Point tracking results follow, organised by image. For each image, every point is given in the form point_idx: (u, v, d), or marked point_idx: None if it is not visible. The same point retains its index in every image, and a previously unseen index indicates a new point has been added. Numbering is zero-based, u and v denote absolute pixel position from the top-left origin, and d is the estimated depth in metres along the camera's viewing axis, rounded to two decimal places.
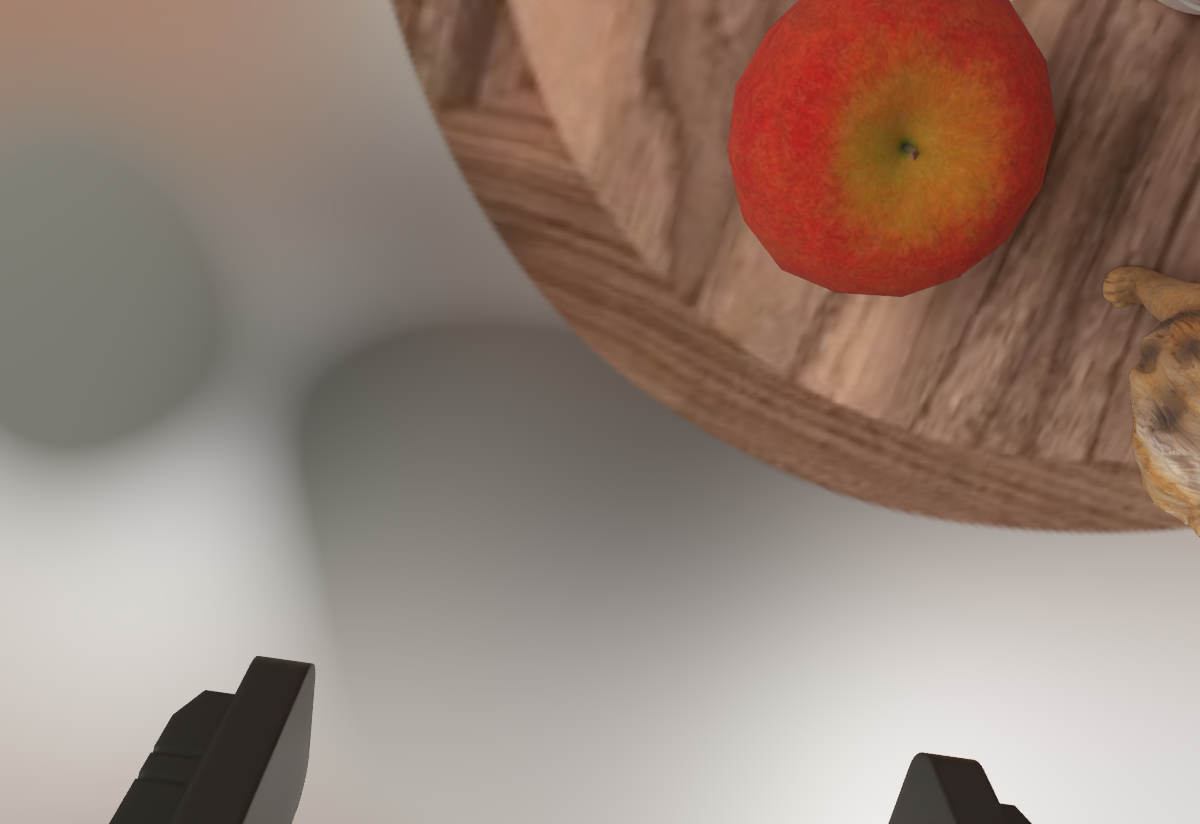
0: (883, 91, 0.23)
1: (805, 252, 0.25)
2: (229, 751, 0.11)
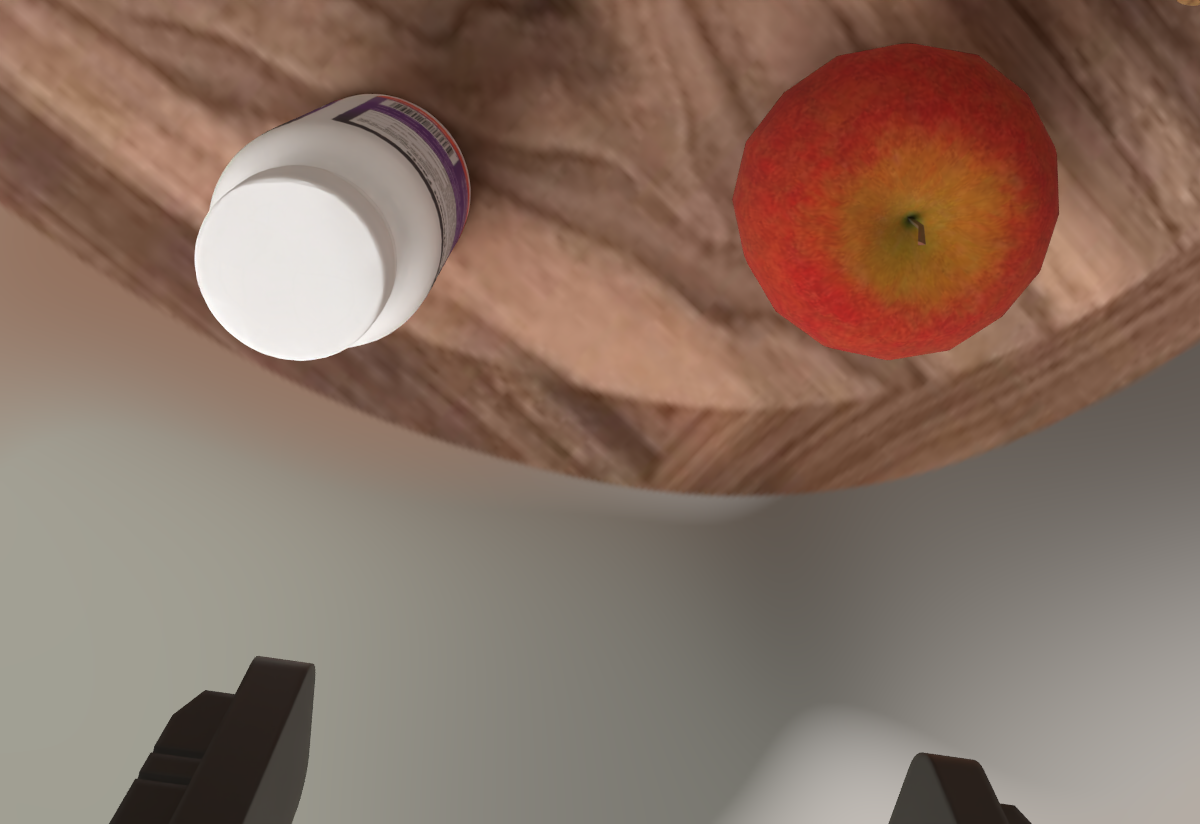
0: (852, 232, 0.24)
1: (940, 344, 0.26)
2: (229, 751, 0.11)
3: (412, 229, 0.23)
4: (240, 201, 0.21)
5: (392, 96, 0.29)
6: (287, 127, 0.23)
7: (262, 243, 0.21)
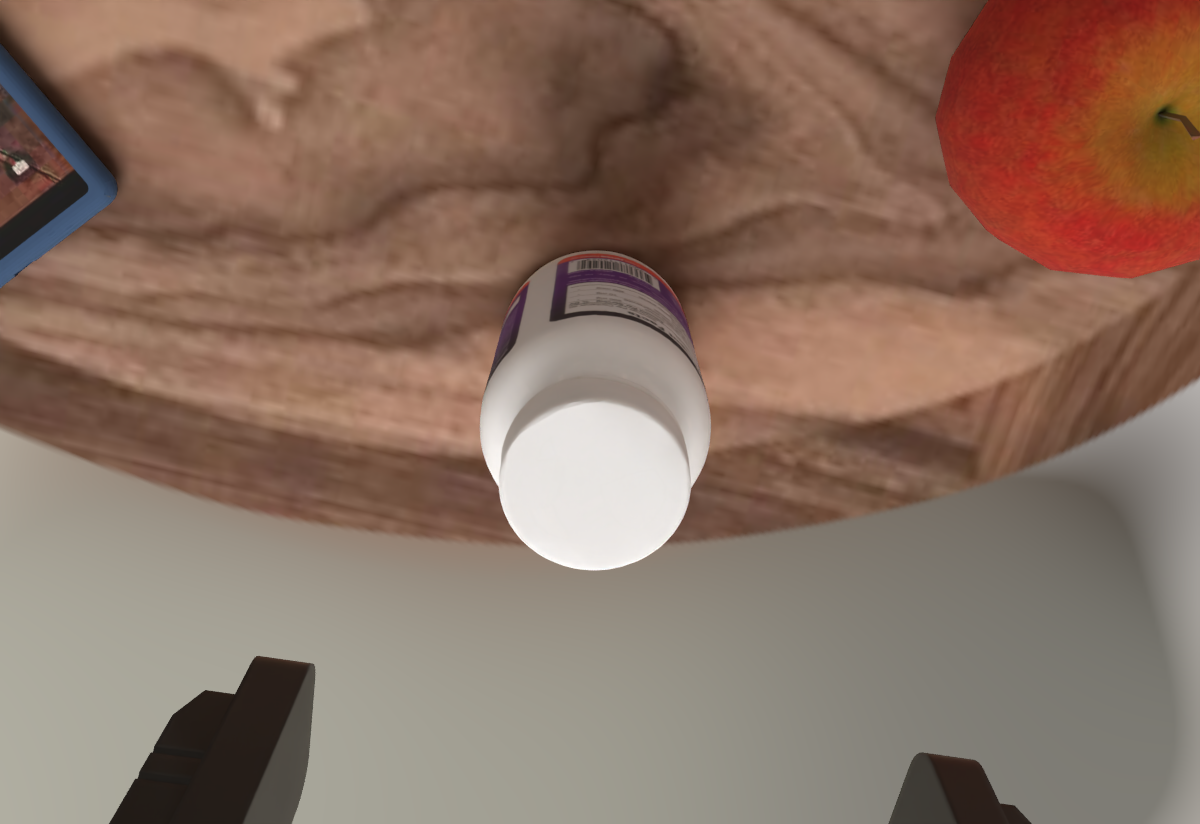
0: (1109, 162, 0.21)
1: None
2: (229, 751, 0.11)
3: (673, 384, 0.23)
4: (524, 448, 0.21)
5: (569, 255, 0.29)
6: (518, 351, 0.23)
7: (559, 475, 0.21)
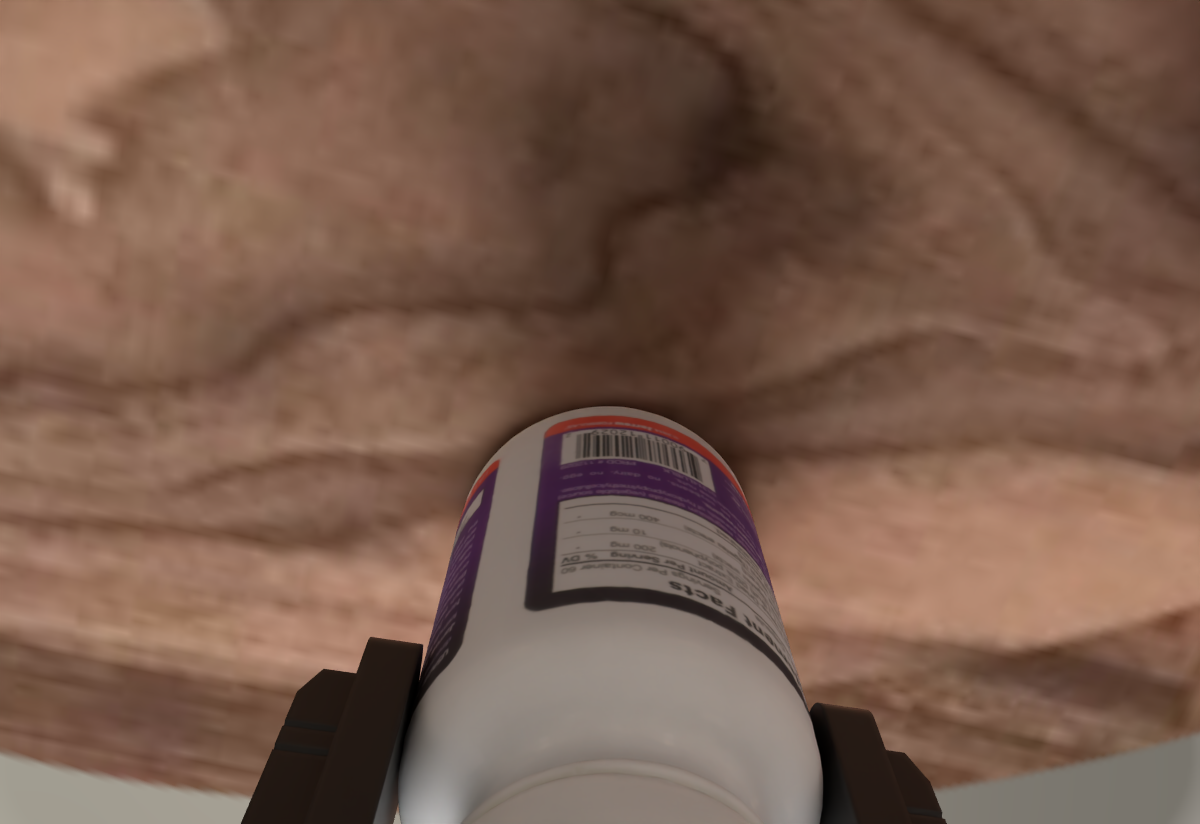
0: None
1: None
2: (360, 723, 0.12)
3: (760, 743, 0.12)
4: None
5: (563, 416, 0.18)
6: (464, 676, 0.12)
7: None
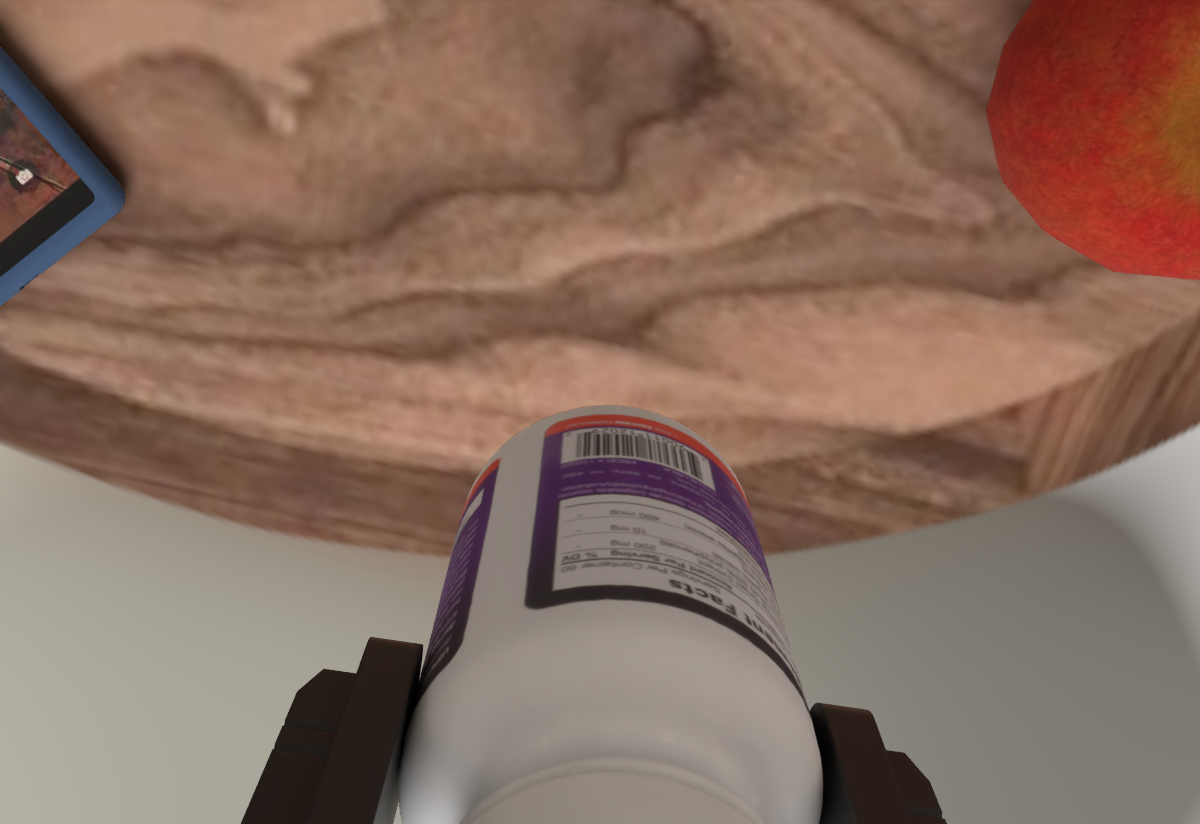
0: (1183, 154, 0.20)
1: None
2: (360, 724, 0.12)
3: (761, 742, 0.12)
4: None
5: (564, 415, 0.18)
6: (464, 674, 0.12)
7: None
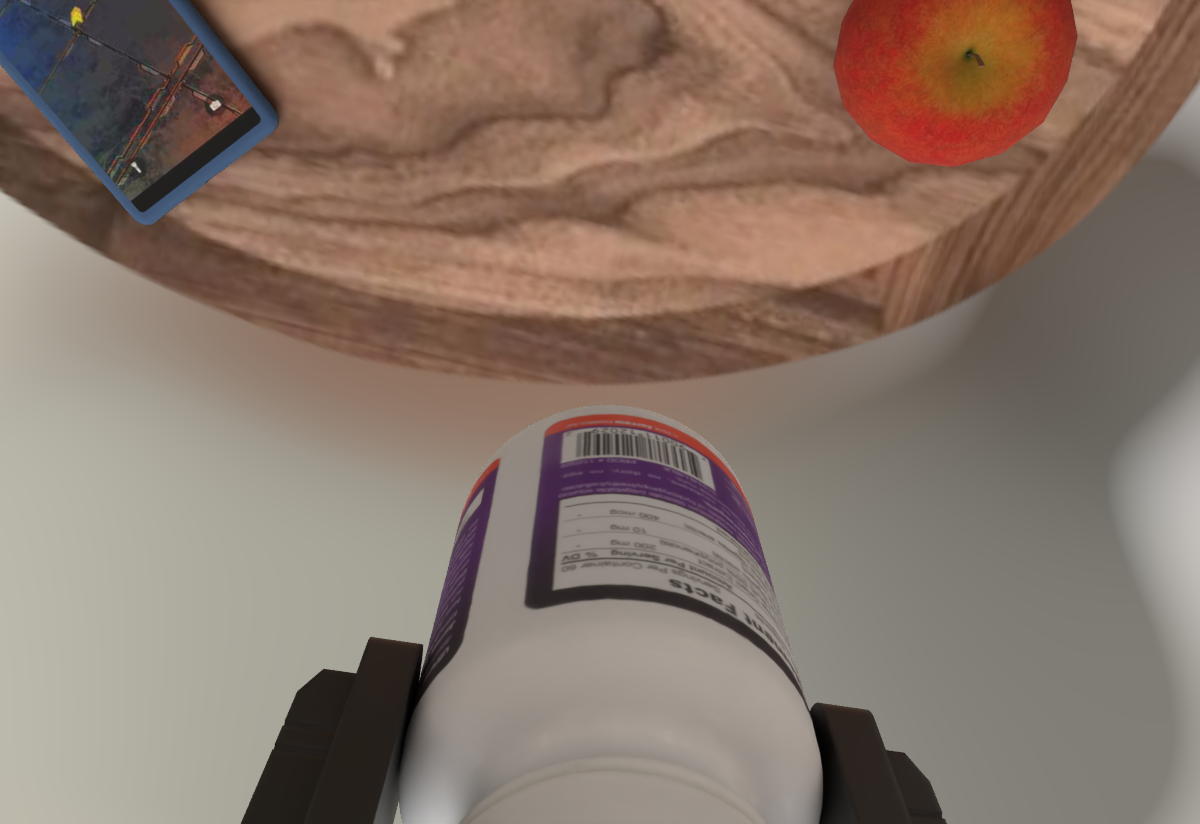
0: (932, 84, 0.34)
1: (1033, 122, 0.35)
2: (360, 724, 0.12)
3: (761, 741, 0.12)
4: None
5: (564, 414, 0.18)
6: (464, 674, 0.12)
7: None
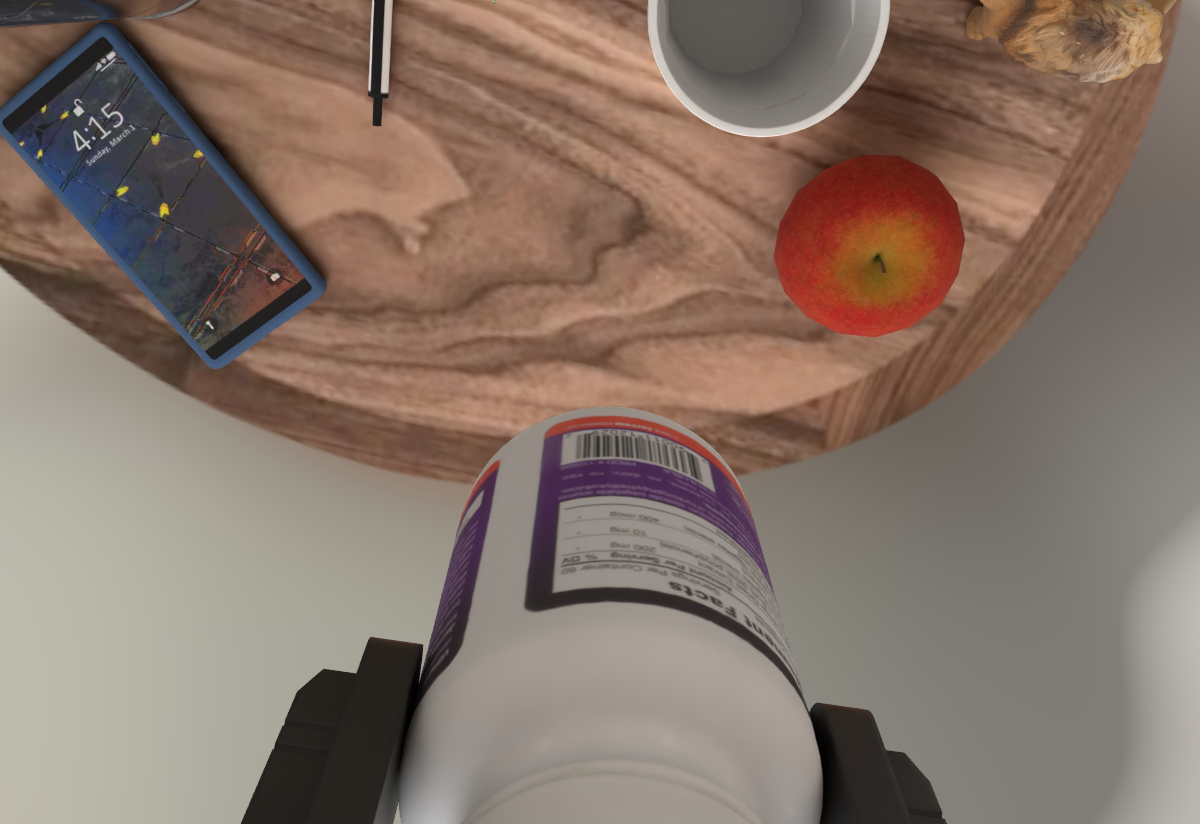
0: (847, 283, 0.43)
1: (930, 308, 0.44)
2: (360, 723, 0.12)
3: (761, 744, 0.12)
4: None
5: (564, 416, 0.18)
6: (464, 677, 0.12)
7: None
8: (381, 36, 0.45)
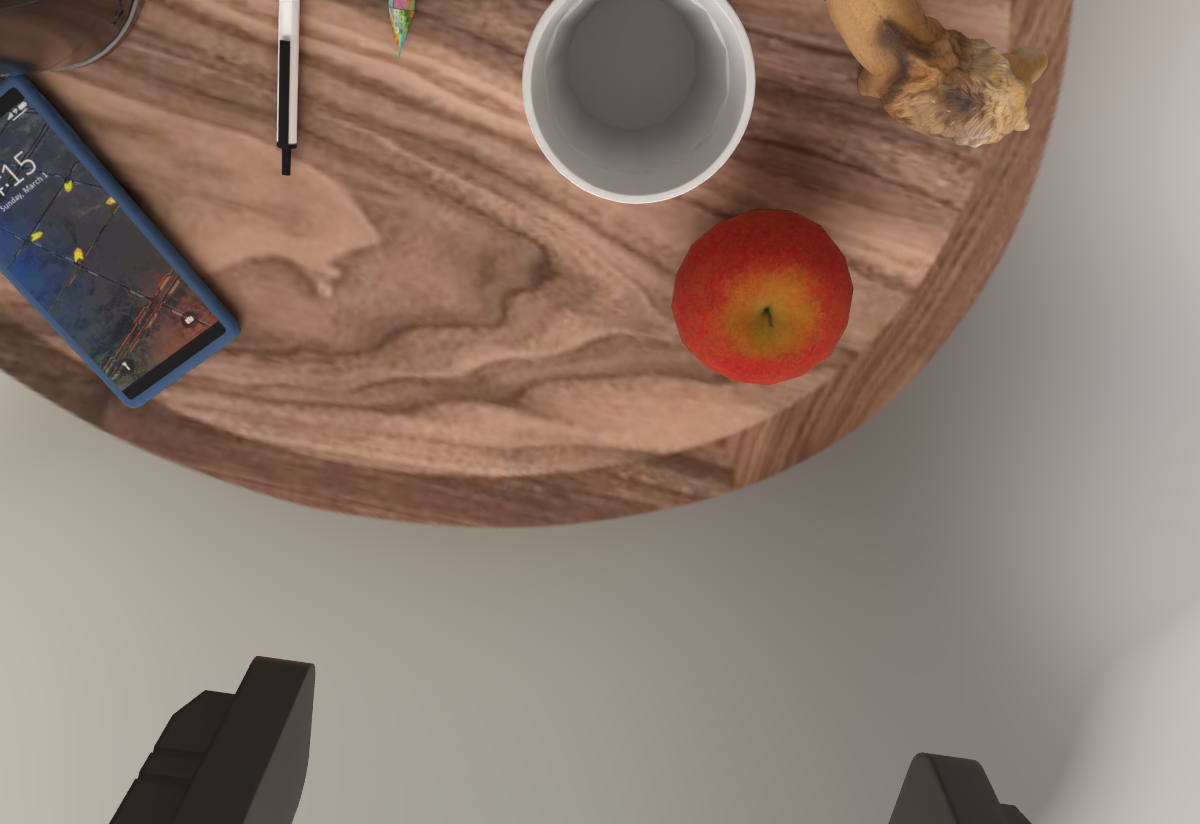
0: (737, 335, 0.44)
1: (820, 358, 0.45)
2: (229, 751, 0.11)
3: None
4: None
5: None
6: None
7: None
8: (287, 89, 0.46)
